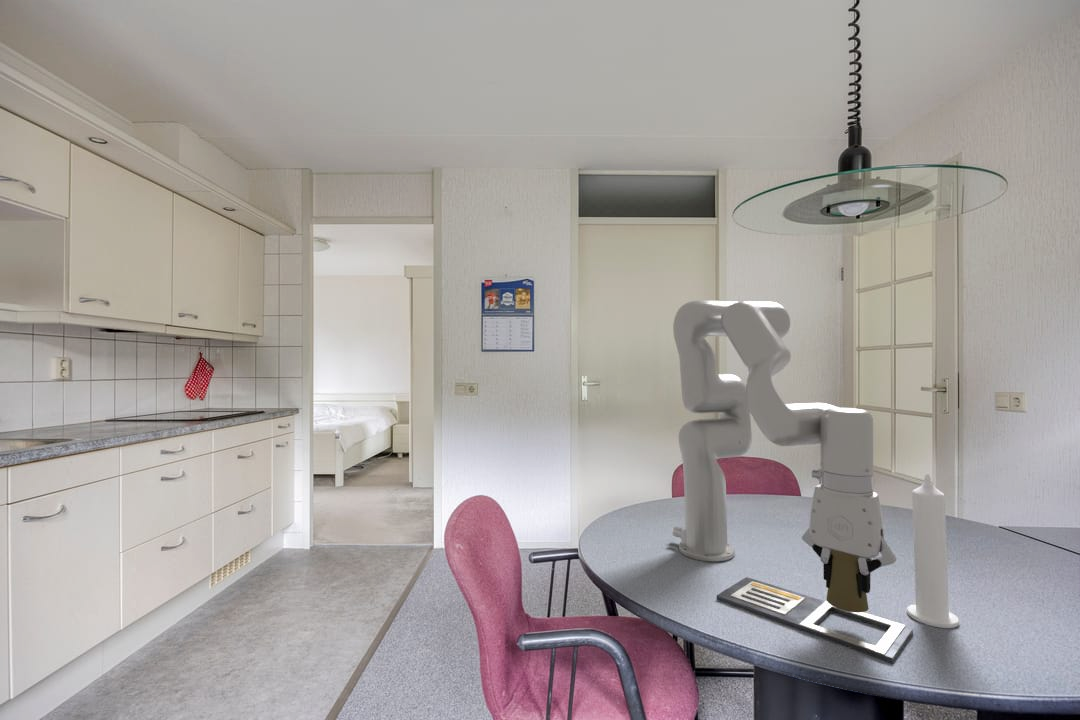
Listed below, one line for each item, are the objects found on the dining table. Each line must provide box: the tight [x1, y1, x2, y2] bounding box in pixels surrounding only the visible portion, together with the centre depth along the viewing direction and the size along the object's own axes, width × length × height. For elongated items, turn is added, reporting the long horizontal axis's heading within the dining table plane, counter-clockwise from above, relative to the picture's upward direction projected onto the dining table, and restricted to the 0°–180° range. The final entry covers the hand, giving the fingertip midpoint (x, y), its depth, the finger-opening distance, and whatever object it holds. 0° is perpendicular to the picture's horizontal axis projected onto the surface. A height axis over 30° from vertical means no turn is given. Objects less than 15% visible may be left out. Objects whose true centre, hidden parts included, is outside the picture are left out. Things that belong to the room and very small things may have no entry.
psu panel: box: [716, 576, 914, 664], centre depth 87 cm, size 28×12×1 cm, turn 41°
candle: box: [906, 473, 960, 629], centre depth 86 cm, size 7×7×25 cm
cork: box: [826, 549, 869, 613], centre depth 83 cm, size 6×6×11 cm
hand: (846, 589), depth 83 cm, fingers closed on cork, 3 cm apart
